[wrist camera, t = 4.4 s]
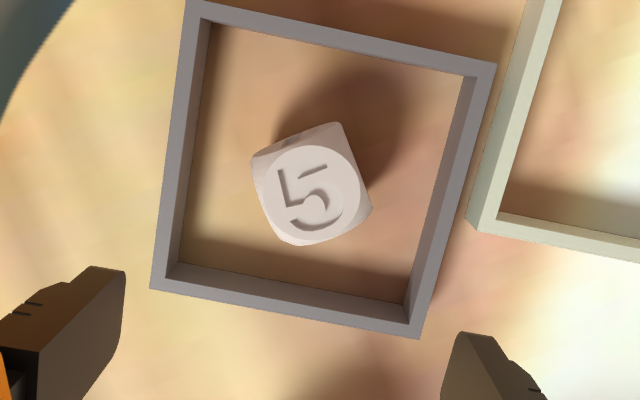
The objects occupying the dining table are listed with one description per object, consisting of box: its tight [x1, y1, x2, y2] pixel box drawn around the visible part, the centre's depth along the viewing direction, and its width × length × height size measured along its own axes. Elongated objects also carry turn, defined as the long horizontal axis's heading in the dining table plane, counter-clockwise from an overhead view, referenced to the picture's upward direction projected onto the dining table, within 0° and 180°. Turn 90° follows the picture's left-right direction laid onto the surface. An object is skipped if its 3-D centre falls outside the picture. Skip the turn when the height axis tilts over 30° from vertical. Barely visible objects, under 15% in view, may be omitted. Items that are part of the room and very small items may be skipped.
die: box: [251, 122, 373, 246], centre depth 26 cm, size 5×5×5 cm
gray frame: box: [149, 0, 498, 340], centre depth 27 cm, size 16×16×2 cm
